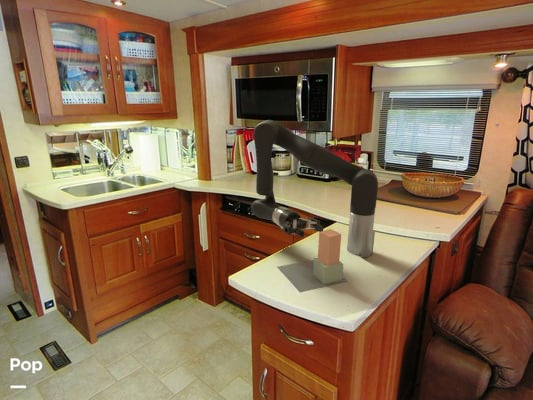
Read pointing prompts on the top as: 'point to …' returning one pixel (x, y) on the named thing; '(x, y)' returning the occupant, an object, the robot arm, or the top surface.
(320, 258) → the top brick
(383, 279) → the top surface
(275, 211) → the robot arm
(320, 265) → the bottom brick
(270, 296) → the top surface
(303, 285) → the baseplate
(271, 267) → the top surface
